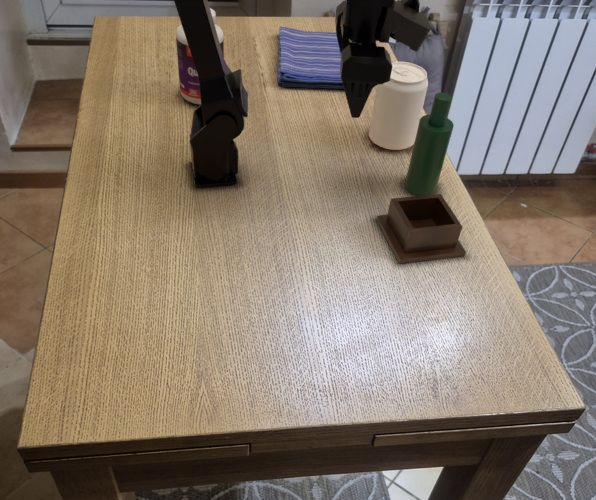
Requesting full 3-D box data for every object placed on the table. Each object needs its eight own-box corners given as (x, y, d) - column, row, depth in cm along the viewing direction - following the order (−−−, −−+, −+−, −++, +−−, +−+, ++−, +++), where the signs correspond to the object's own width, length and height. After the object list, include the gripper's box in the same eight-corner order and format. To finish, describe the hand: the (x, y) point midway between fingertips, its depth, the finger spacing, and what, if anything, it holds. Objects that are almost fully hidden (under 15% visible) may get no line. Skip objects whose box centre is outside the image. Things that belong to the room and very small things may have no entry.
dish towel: (277, 88, 116) (277, 73, 114) (277, 35, 132) (277, 21, 130) (367, 93, 117) (369, 79, 115) (356, 40, 133) (358, 26, 131)
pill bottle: (187, 109, 109) (180, 24, 98) (175, 88, 114) (168, 4, 103) (230, 104, 111) (229, 20, 100) (217, 83, 116) (215, 1, 105)
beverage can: (389, 157, 103) (403, 88, 94) (358, 135, 107) (369, 66, 98) (423, 144, 107) (440, 76, 97) (393, 123, 111) (406, 56, 102)
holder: (399, 263, 86) (405, 238, 82) (376, 219, 92) (381, 194, 88) (464, 256, 88) (473, 230, 84) (437, 213, 94) (444, 188, 90)
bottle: (419, 199, 96) (443, 108, 85) (398, 183, 98) (418, 93, 87) (442, 190, 98) (468, 99, 87) (420, 174, 100) (443, 85, 89)
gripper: (445, 15, 71) (416, 138, 83) (423, -40, 83) (401, 74, 95) (349, 8, 70) (334, 134, 82) (341, -47, 82) (329, 69, 94)
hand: (353, 100), depth 88 cm, fingers open, 9 cm apart
